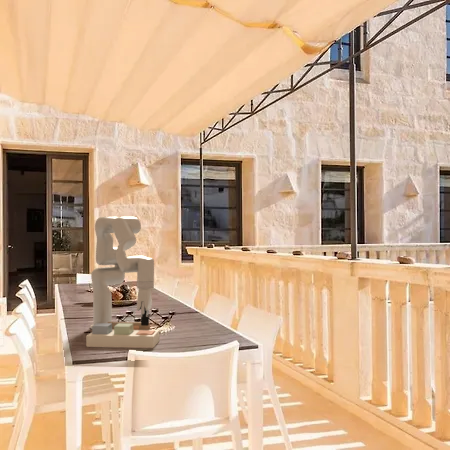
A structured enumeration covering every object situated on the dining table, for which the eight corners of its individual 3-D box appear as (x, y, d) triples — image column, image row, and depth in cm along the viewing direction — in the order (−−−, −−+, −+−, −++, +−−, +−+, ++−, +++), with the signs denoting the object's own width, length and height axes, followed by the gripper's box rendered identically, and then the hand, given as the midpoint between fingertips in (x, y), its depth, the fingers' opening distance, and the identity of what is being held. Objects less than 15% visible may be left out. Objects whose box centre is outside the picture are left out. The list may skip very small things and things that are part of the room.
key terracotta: (136, 342, 227) (136, 333, 227) (139, 339, 234) (139, 330, 234) (151, 342, 227) (151, 333, 227) (154, 339, 234) (154, 330, 234)
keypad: (86, 346, 225) (86, 328, 225) (98, 338, 241) (98, 321, 241) (153, 347, 223) (153, 329, 223) (160, 339, 240) (160, 322, 240)
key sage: (114, 335, 228) (114, 326, 228) (118, 332, 235) (118, 323, 235) (129, 335, 227) (129, 326, 227) (133, 332, 234) (133, 323, 234)
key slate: (92, 334, 228) (92, 326, 228) (97, 331, 235) (97, 323, 235) (107, 335, 228) (107, 326, 228) (112, 331, 235) (112, 323, 235)
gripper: (141, 282, 238) (140, 321, 239) (133, 287, 223) (132, 328, 224) (156, 282, 238) (156, 322, 238) (150, 287, 223) (149, 329, 223)
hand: (144, 325), depth 231 cm, fingers closed
